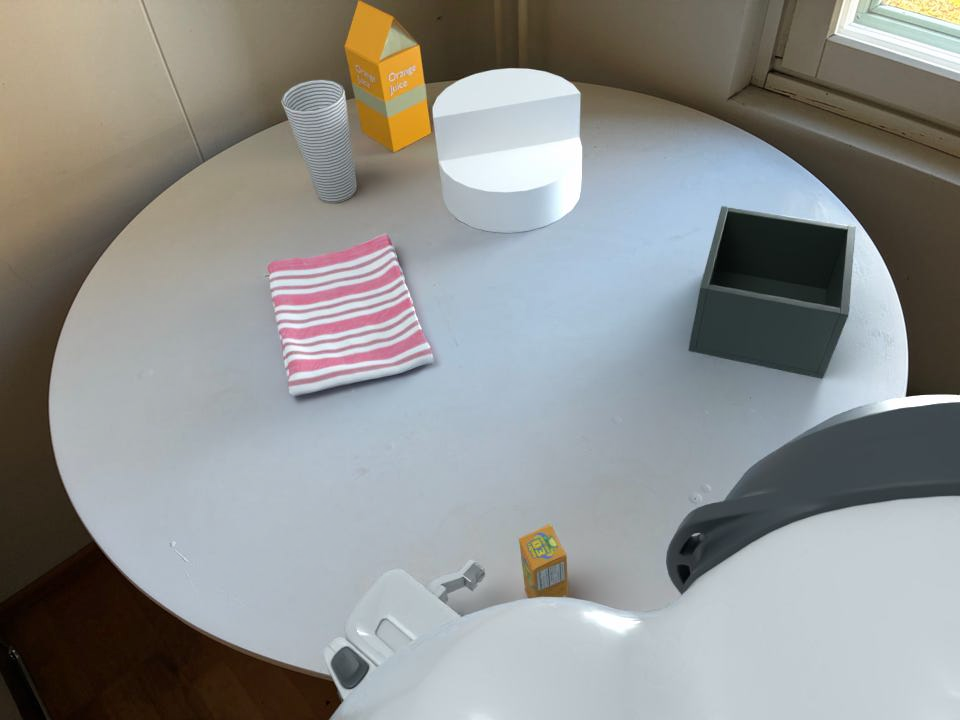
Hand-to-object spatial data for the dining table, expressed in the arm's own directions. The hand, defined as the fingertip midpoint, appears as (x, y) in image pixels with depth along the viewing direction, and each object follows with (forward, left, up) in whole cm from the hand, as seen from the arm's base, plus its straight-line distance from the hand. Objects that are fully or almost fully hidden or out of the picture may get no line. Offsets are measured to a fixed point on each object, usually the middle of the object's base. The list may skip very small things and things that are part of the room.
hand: (521, 599), depth 64 cm
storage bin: (-15, -44, -5) cm, 47 cm away
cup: (+47, -54, -6) cm, 72 cm away
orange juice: (+45, -71, -6) cm, 84 cm away
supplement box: (-1, -3, -6) cm, 6 cm away
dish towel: (+33, -30, -6) cm, 45 cm away
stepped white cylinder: (+22, -61, -6) cm, 65 cm away
